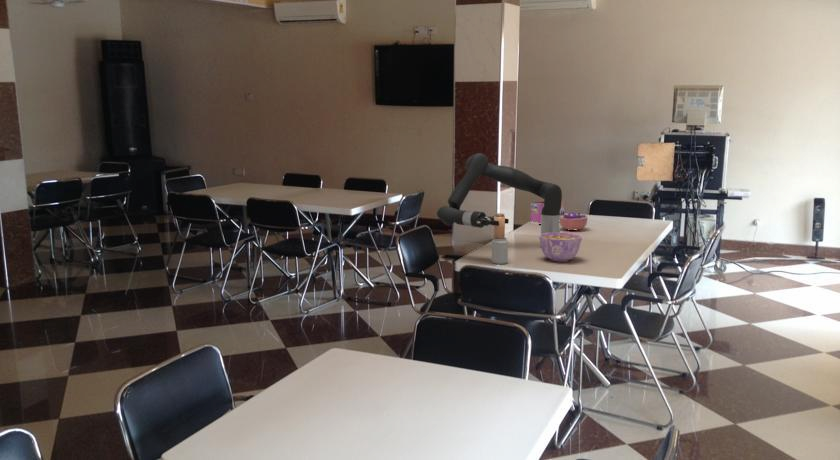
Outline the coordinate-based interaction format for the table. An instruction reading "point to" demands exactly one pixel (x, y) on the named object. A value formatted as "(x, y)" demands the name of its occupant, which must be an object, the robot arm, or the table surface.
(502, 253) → the can
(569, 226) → the cell model
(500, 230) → the jar
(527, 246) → the table surface
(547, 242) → the bowl of food
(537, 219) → the gum box
